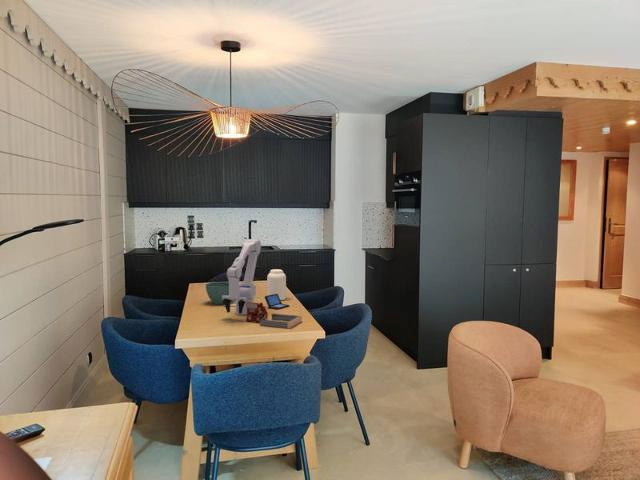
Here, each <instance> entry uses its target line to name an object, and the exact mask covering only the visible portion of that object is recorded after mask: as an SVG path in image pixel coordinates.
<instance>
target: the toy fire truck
mask: <svg viewBox="0 0 640 480" xmlns="http://www.w3.org/2000/svg"><path fill="white" fill-rule="evenodd" d="M246 307H247V315H246V319H245V320H246V321H247V322H249V323H252V322H253V321H255V322H256V323H258V324H260V320H261V319H264V320H268V319H269V318H268V316H269V315H268V310H267V308H266V306H265V305H264V303H263V302H260V303H259V302H247V303H246Z"/></svg>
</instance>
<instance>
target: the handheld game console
mask: <svg viewBox="0 0 640 480" xmlns="http://www.w3.org/2000/svg"><path fill="white" fill-rule="evenodd" d="M264 299H265V302H266V304H267V307H268V309H270V310H275V311H276V310H277V311H279V310H283V309H285V308H289V307H290V304H285V303H282V300H281V301H280V298H279V296H278V294H273V295H268V296H267V295H265V296H264Z"/></svg>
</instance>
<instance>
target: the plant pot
mask: <svg viewBox="0 0 640 480" xmlns="http://www.w3.org/2000/svg"><path fill="white" fill-rule="evenodd" d="M205 291H206V294H207V296H208V298H209V299H210V301H211V302H212V303H213V304H215V305H224V303H223V300H224V299H222V296H224V295H226V296H229V281H213V282H208V283H206V284H205Z"/></svg>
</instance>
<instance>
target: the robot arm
mask: <svg viewBox="0 0 640 480" xmlns="http://www.w3.org/2000/svg"><path fill="white" fill-rule="evenodd" d="M241 246H242V247H241V251H240V253H239V256H238V257H236V258H235V259H234V261H233V263H232V265H231V266H230V267H228V269H227V270H226V277H227V280H228V281H227V282H229V296H226V295H224V296H222V299H224V300H223V303H224V304H223V305H224V307H225V310H226V313H227V314H229V313H230V312H231V301H235V315H242V316H245V315H246V316H247V307H246V303H247V302H253V299H255V297H256V293H257V291H256V289H257V286H256V285H255V284H254V281H253V280H254V277H255V276H254V275H255V270H256V267H257V260H258V256H259V255H260V253H261V248H262V243H261V240H260V239H258V238H257V239H253V238H252V239H251V238H245V239H243V241H242V243H241ZM247 256H248V257H247ZM246 258H248V259H247V263H246ZM245 264H246V269H245V272H244V273H245V274H244V278H243V281H242V282H240V278H241V277H242V271H243V267H244V266H245Z"/></svg>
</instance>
